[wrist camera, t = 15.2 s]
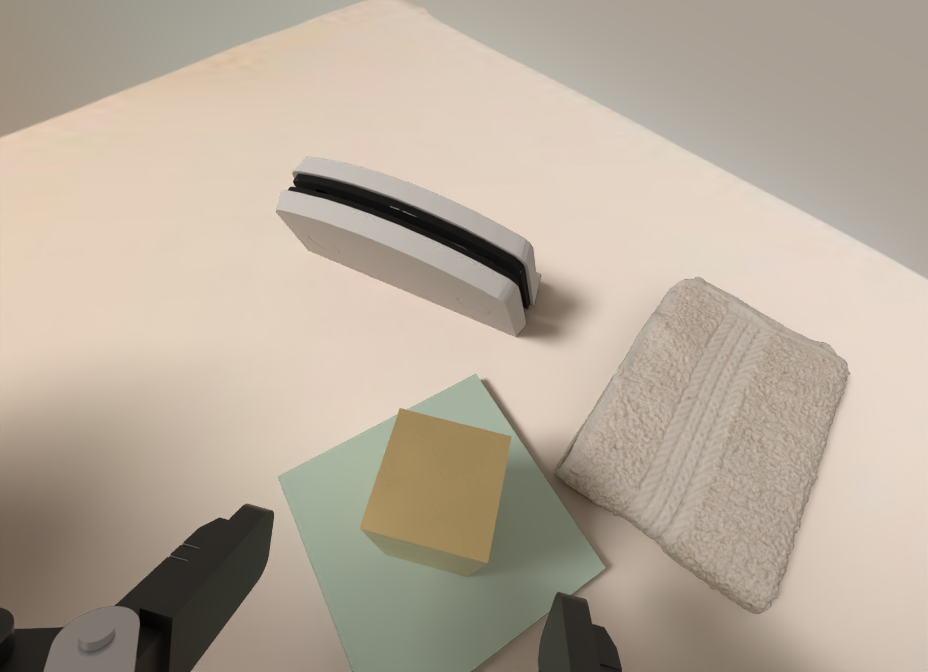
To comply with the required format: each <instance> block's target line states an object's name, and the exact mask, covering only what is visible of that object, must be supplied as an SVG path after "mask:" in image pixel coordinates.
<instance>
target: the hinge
mask: <svg viewBox="0 0 928 672" xmlns="http://www.w3.org/2000/svg"><path fill="white" fill-rule="evenodd" d="M292 174H293V177H294V178H295V179H294V180H293V183H294V185H295V186H296V187H290V188H289V189H288V190H282V191H281V194H280V198H279V201H278V205H277V208H276V212H277V214H278V215H279V216H280V217H281V219H282V220H283V221H284V222H285V223H286V224H287V226H288V227H289V228H290V229H291V230H292V232H293V233H294V234H295V235H296V236H297V238H298V239H299V240H300V241H301V242H302V243H303V245H304V246H305V247H306V248H307V249H308V251H311V252H313V253H316V254H318V255H320V256H323V257H325V258H328V259H330V260H332V261H335V262H337V263H340V264H342V265H344V266H347V267H349V268H352V269H354V270H356V271H359V272H361V273H363V274H366V275H368V276H371V277H373V278H375V279H378V280H380V281H383V282H385V283H387V284H390V285H392V286H395V287H397V288H399V289H402V290H404V291H407V292H409V293H411V294H414V295H416V296H419V297H421V298H423V299H426V300H428V301H431V302H433V303H435V304H438V305H440V306H442V307H445V308H447V309H450V310H452V311H454V312H457V313H459V314H462V315H464V316H466V317H469V318H471V319H474V320H476V321H478V322H481V323H483V324H486V325H488V326H490V327H493V328H495V329H498V330H500V331H502V332H505V333H507V334H510V335H512V336H514V337H517V336H518V334H519V333H520V332H521V331H522V329H523V328H524V327H525V325H526V319H525V313H524V308H526V309H528V307H529V305H532V306H534V304H535V300H536V296H537V291H538V287H539V283H540V278H541V274H540V273H537V272H536V268H535V259H534V250H533V247H532V245H531V244H530V242H528V241H527V240H526V239H525V238H523V237H521V236H520V235H518V234H516V233H514V232H513V231H511V230H509V229H507V228H506V227H504V226H502V225H500V224H498V223H497V222H495V221H493V220H491V219H489V218H487V217H485V216H483V215H481V214H479V213H477V212H475V211H473V210H471V209H469V208H467V207H465V206H463V205H460V204H458V203H456V202H454V201H452V200H450V199H447V198H445V197H443V196H441V195H438V194H436V193H434V192H431V191H429V190H427V189H424V188H422V187H419V186H417V185H414V184H411V183H409V182H406V181H403V180H400V179H398V178H395V177H392V176H389V175H386V174H383V173H380V172H377V171H374V170H370V169H366V168H363V167H359V166H355V165H352V164H348V163H344V162H339V161H334V160H328V159H323V158H315V157H306V158H305V159H304V160H303V161H302V162H301V163H300V164H299V166H298V167H297V168H296V169H295V170H294V171H293V173H292ZM523 307H524V308H523Z"/></svg>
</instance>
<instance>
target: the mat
mask: <svg viewBox="0 0 928 672" xmlns="http://www.w3.org/2000/svg"><path fill="white" fill-rule="evenodd" d="M407 410H409V411H413V412H417V413H421V414H425V415H429V416H433V417H437V418H441V419H445V420H449V421H453V422H457V423H461V424H465V425H469V426H473V427H477V428H480V429H484V430H488V431H492V432H496V433H500V434H504V435H508V436H512V437H511V442H510V448H509V453H508V459H507V464H506V469H505V475H504V480H503V485H502V491H501V496H500V501H499V507H498V512H497V517H496V523H495V528H494V534H493V539H492V544H491V550H490V555H489V560H488V564H486V565H485V566H483V567H482V568H480V569H479V570H477V571H475V572H474V573H472V574H471V575H469V576H468V577H464V576H460V575H457V574H453V573H450V572H446V571H442V570H439V569H435V568H431V567H428V566H424V565H421V564H417V563H413V562H410V561H406V560H402V559H399V558H395V557H392V556H388V555H385V554H384V553H383V552H382V551H381V550H380V549H379V548H378V547H377V546H376V545H375V544H374V543H373V542H372V541H371V540H370V539H369V538H368V537H367V536H366V535H365V534H364V532H363V531H362V530H361V529H360V525H361V522H362V519H363V516H364V513H365V510H366V507H367V504H368V501H369V498H370V495H371V492H372V489H373V486H374V483H375V480H376V477H377V474H378V472H379V469H380V466H381V463H382V460H383V457H384V454H385V451H386V448H387V445H388V442H389V439H390V436H391V433H392V430H393V427H394V424H395V421H396V418H397V415H398V414H397V415H396V416H394V417H392V418H390V419H388V420H386V421H384V422H382V423H380V424H378V425H376V426H374V427H372V428H371V429H369V430H367V431H365V432H363V433H361V434H359V435H357V436H355V437H353V438H351V439H349V440H347V441H346V442H344V443H342V444H340V445H338V446H336V447H334V448H332V449H330V450H328V451H326V452H324V453H323V454H321V455H319V456H317V457H315V458H313V459H311V460H309V461H307V462H305V463H303V464H301V465H299V466H298V467H296V468H294V469H292V470H290V471H288V472H286V473H284V474H282V475H280V476H278V479H279V481H280V484H281V486H282V489H283V492H284V494H285V497H286V499H287V502H288V505H289V507H290V510H291V512H292V515H293V518H294V520H295V523H296V525H297V528H298V531H299V533H300V536H301V538H302V541H303V544H304V546H305V549H306V551H307V554H308V557H309V559H310V562H311V564H312V567H313V570H314V572H315V575H316V577H317V580H318V583H319V585H320V588H321V590H322V593H323V596H324V598H325V601H326V603H327V606H328V609H329V611H330V614H331V616H332V619H333V622H334V624H335V627H336V629H337V632H338V635H339V637H340V640H341V642H342V645H343V648H344V650H345V653H346V655H347V658H348V661H349V663H350V666H351V668H352V671H353V672H471V671H473V670H474V669H475V668H477V667H478V666H479V665H480V664H482V663H483V662H484V661H486V660H487V659H488V658H490V657H491V656H492V655H493V654H495V653H496V652H497V651H499V650H500V649H501V648H503V647H504V646H505V645H506V644H508V643H509V642H510V641H512V640H513V639H514V638H516V637H517V636H518V635H519V634H521V633H522V632H523V631H525V630H526V629H527V628H529V627H530V626H531V625H532V624H534V623H535V622H536V621H538V620H539V619H540V618H542V617H543V616H544V615H545V614H547V613H548V612H549V611H550V610H551V607H552V604H553V601H554V598H555V595H556V593H557V592H561V593H565V594H568V595H571V594H573V593H574V592H575V591H577V590H578V589H579V588H581V587H582V586H583V585H585V584H586V583H587V582H588V581H590V580H591V579H592V578H594V577H595V576H596V575H598V574H599V573H600V572H601V571H603V570H604V569H605V568H606V567H605V566H604V564H603V563H602V561H601V560H600V558H599V557H598V556H597V554H596V553H595V551H594V550H593V548H592V547H591V545H590V544H589V542H588V541H587V539H586V538H585V536H584V535H583V533H582V532H581V530H580V529H579V527H578V526H577V524H576V523H575V521H574V520H573V518H572V517H571V515H570V514H569V512H568V511H567V509H566V508H565V506H564V505H563V503H562V502H561V500H560V499H559V497H558V496H557V494H556V493H555V491H554V490H553V488H552V487H551V485H550V484H549V482H548V481H547V479H546V478H545V476H544V475H543V473H542V472H541V470H540V469H539V467H538V466H537V464H536V463H535V461H534V460H533V458H532V457H531V455H530V454H529V452H528V451H527V449H526V448H525V446H524V445H523V443H522V442H521V440H520V439H519V437H518V436H517V434H516V433H515V431H514V430H513V428H512V427H511V426H510V424H509V423H508V421H507V420H506V418H505V417H504V415H503V414H502V412H501V411H500V409H499V408H498V406H497V405H496V403H495V402H494V400H493V399H492V397H491V396H490V394H489V393H488V391H487V390H486V388H485V387H484V385H483V384H482V382H481V381H480V379H479V378H478V376H477V375H476V374H474V375H472V376H471V377H469V378H467V379H465V380H463V381H461V382H459V383H457V384H455V385H453V386H451V387H449V388H447V389H446V390H444V391H442V392H440V393H438V394H436V395H434V396H432V397H430V398H428V399H426V400H424V401H422V402H421V403H419V404H417V405H415V406H413V407H411V408H409V409H407Z"/></svg>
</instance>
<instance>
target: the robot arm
mask: <svg viewBox="0 0 928 672" xmlns="http://www.w3.org/2000/svg"><path fill="white" fill-rule="evenodd" d="M273 520H274V512H273V511H272V510H268V509H265V508H261V507H257V506H254V505H250V504H245V505H243V506H242V507H241V508H240V509H239V510H238V511H237V512H236V513H235V514H234V515H233V516H232V517H231V518H230V519H229V520H226V519H223V518H218V519H216V520H214V521H212V522H210V523H208V524H206V525H204V526H202V527H200V528H198V529H197V530H196V531H195V532H194V533H193V534H192V535H191V536H190V537H189V538H188V539H187V540H185V541H184V543H183V545H180V546H179V547H178V548H177V549H176V550H175V551H174V552H172V553H171V555H170V557H169V558H168V557H167V558H166V559H165V560H164V561H163V562H162V563H161V564H160V565H158V566H157V567H156V568H155V569H154V570H153V571H152V572H151V573H150V574H149V575H148V576H147V577H145V578H144V579H143V580H142V581H141V582H140V583H139V584H138V585H137V586H136V587H135V588H134V589H132V590H131V591H130V592H129V593H128V594H127V595H126V596H125V597H124V598H123V599H122V600H121V601H120V602H118V603H117V604H116V605H115V606H110V607H104V608H100V609H96V610H93V611H90V612H88V613H86V614H84V615H82V616H80V617H78V618H76V619H75V620H73V621H72V622H70V623H69V624H68V625H67V626H65V627H61V628H33V629H14V618H13V615H12V614H11V613H10V612H9V611H8V610H6V609H3V608H0V672H190V671H191V670H192V669H193V667H194V666H195V665H196V663H197V662H198V661H199V659H200V658H201V657H202V655H203V654H204V653H205V651H206V650H207V649H208V647H209V646H210V645H211V643H212V642H213V641H214V639H215V638H216V637H217V635H218V634H219V633H220V631H221V630H222V629H223V627H224V626H225V624H226V623H227V622H228V620H229V619H230V618H231V616H232V615H233V614H234V612H235V611H236V610H237V608H238V607H239V606H240V604H241V603H242V602H243V600H244V599H245V598H246V596H247V595H248V594H249V592H250V591H251V590H252V588H253V587H254V586H255V584H256V583H257V581H258V580H259V578H260V577H261V575H262V573H263V571H264V569H265V566H266V564H267V561H268V557H269V550H270V542H271V535H272V528H273ZM538 666H539V672H622V668H621V664H620V660H619V656H618V652H617V648H616V646H615V645H614V643H613V641H612V640H611V638H610V636H609V635H608V633H607V631H606V630H605V628H604V627H601V626H597V625H594V624H592V622H591V617H590V612H589V607H588V603H587V601H586V599H583V598H579V597H576V596H572V595H568V594H565V593H561V592H557V593H556V595H555V598H554V601H553V604H552V607H551V610H550V613H549V616H548V619H547V621H546V624H545V627H544V630H543V633H542V637H541V641H540V647H539V657H538Z"/></svg>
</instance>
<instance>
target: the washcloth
mask: <svg viewBox="0 0 928 672" xmlns="http://www.w3.org/2000/svg"><path fill="white" fill-rule="evenodd" d="M849 374H850V373H849V371H848V368H847V363H846V361H845V360H844V359H843V358H841V357H839V356H837V355H836V353H835V351H834V350H833V349H832V348H831V346H830V345H828V344H827V343H824V342H818V341H813V340H810V339H808V338H806V337H804V336H803V335H800V334H798V333H796V332H794V331H792V330H790V329H788V328H786V327H785V326H783V325H782V324H780V323H779V322H777V321H775V320H773V319H771V318H770V317H768V316H766V315H764V314H762V313H760V312H759V311H757V310H756V309H754V308H752V307H750V306H749V305H747V304H746V303H744V302H743V301H741V300H739V299H738V298H736V297H734V296H733V295H731V294H729V293H727V292H725V291H723V290H721V289H719V288H717V287H715V286H713V285H711V284H710V283H708V282H706V281H705V280H704V279H702V278H700V277H695V278H694V279H685V280H683V281H680V282H678V283H677V284H676V285H675V286H673V287H672V288H671V289H670V290H669V291H668V292H667V294H666V295H665V297H664V298H663V300H662V301H661V304H660V305H659V306H658V307H657V309H656V310H655V312H654V313H653V314H652V315H651V317H650V318H649V320H648V321H647V323H646V324H645V325H644V327H643V328H642V330H641V331H640V333H639V335H638V336H637V338H636V340H635V342H634V343H633V345H632V346H631V348H630V351H629V352H628V353H627V355H626V357H625V358H624V360H623V361H622V363H621V364H620V366H619V367H618V369H617V370H616V372H615V374H614V375H613V377H612V379H611V380H610V382H609V384H608V385H607V387H606V389H605V390H604V392H603V393H602V395H601V396H600V398H599V400H598V401H597V403H596V405H595V407H594V409H593V410H592V411H591V413H590V414H589V416H588V418H587V419H586V421H585V423H584V424H583V425H582V426H581V428H580V429H579V431H578V432H577V434H576V436H575V437H574V438H573V440H572V442H571V443H570V445H569V446H568V448H567V450H566V451H565V453H564V455H563V457H562V459H561V460H560V462H559V464H558V466H557V468H556V475H557V476H558V477H560V478H561V479H562V480H563V481H564V482H565V483H566V484H567V485H568V486H570V487H571V488H573V489H575V490H576V491H578V492H579V493H580V494H582V495H583V496H585V497H587V498H589V499H591V501H592V502H593V503H595V504H597V505H598V506H600V507H603V508H605V509H606V510H609V511H611V512H613V514H614V515H621V516H622V517H623V518H625V519H627V520H628V521H629V522H631V523H632V524H633V525H634V526H635V527H636V528H638V529H639V530H641V531H642V532H643V533H644V534H645V535H646V536H648V537H649V538H652V539H654V540H655V541H656V542H657V543H658V544H659V545H660V546H661V548H662V549H663V551H664V552H665V553H666V554H667V555H668V556H670V557H671V558H672V559H673V560H675V561H676V562H677V563H679V564H680V565H681V566H683V567H684V568H686V569H688V570H689V571H691V572H693V573H694V574H695V575H696V576H697V577H698V578H700V579H702V580H704V581H705V582H706V583H708V585H709V586H710V588H712V589H716V590H718V591H719V592H720V593H721V594H723V595H724V596H726V597H727V598H729V599H730V600H732V601H734V602H736V603H737V604H738V605H740V606H741V607H742V608H744V609H746V610H748V611H750V612H752V613H754V614H760V613H762V612H763V611H765V610H767V609H768V608H769V607H770V606H771V601H772V600H773V599H777V598H778V595H779V592H778V586H779V584H780V581H781V580H782V578H783V576H784V573H785V571H786V565H787V563H788V554H790V551H791V550H792V549H793V546H794V545H793V538H794V534H795V533H797V530H799V528H800V518H801V516H802V514H803V508H804V506H805V504H806V503H807V501H808V495H809V492H810V487H811V486H812V485H813V482H815V480H816V479H818V477H817V476H816V472H817V468H818V466H819V460H820V459H821V457H822V452H823V451H824V450H823V449H824V448H825V447H826V440H827V436H828V431H829V428H830V425H831V424H832V423H833V421H832V419H833V418H834V416H835V411H836V409H835V407H838V404H839V401H840V398H841V396H842V395H843V394H844V391H843V389H844V388H845V385H846V380H847V377H848V375H849Z"/></svg>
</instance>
